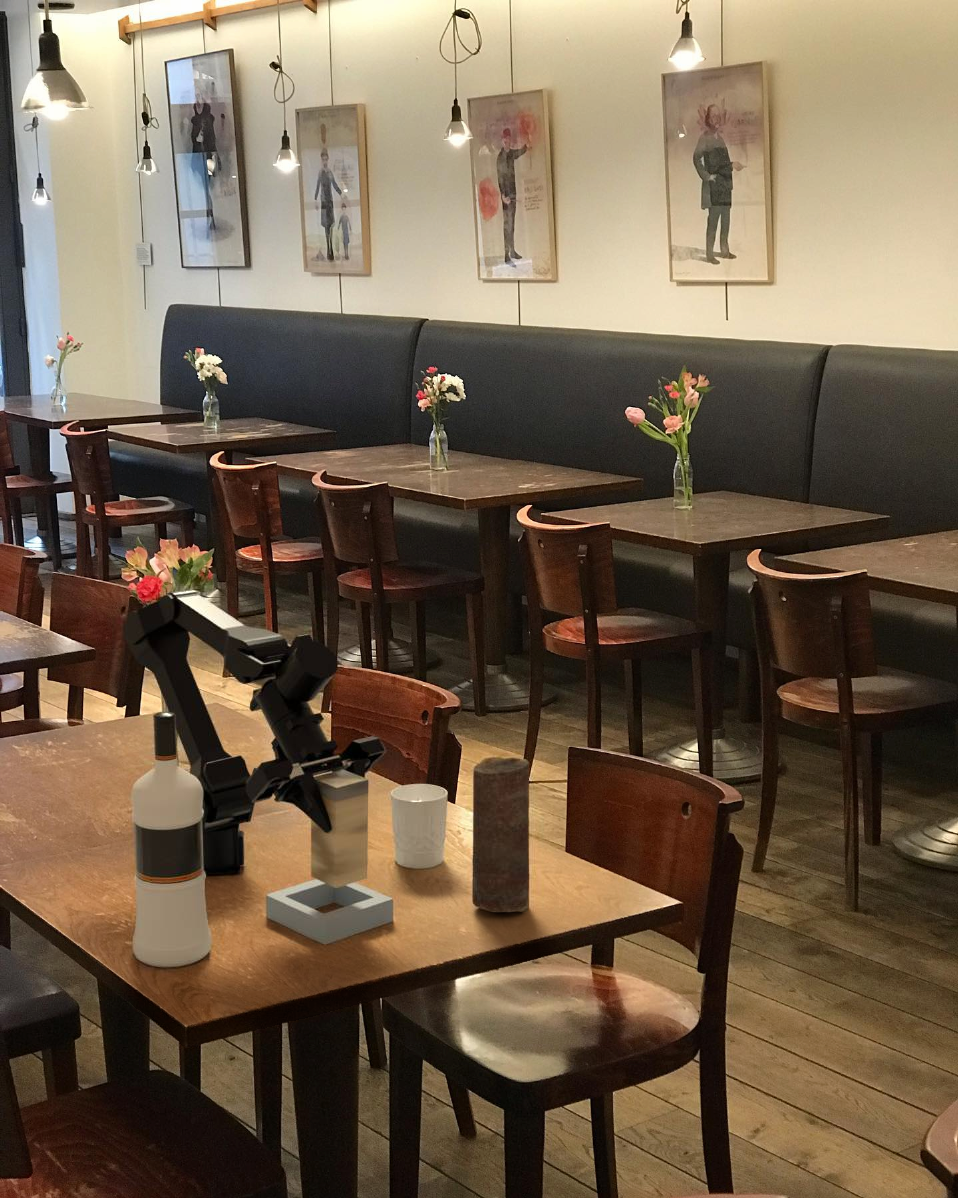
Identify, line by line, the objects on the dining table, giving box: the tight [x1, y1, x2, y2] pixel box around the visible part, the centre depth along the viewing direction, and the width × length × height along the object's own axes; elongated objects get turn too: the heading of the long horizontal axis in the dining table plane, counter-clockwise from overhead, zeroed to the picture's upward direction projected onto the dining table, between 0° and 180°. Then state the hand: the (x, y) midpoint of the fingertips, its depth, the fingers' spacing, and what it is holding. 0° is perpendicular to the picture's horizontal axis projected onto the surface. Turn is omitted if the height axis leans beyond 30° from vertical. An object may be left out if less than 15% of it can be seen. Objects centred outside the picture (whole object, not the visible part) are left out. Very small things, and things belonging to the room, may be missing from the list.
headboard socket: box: [265, 878, 394, 946], centre depth 203 cm, size 12×11×3 cm
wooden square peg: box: [310, 770, 369, 888], centre depth 199 cm, size 5×5×13 cm
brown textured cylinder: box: [471, 756, 530, 913], centre depth 205 cm, size 8×7×20 cm
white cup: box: [390, 783, 448, 870], centre depth 223 cm, size 8×8×10 cm
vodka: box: [130, 711, 212, 969], centre depth 189 cm, size 9×9×30 cm
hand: (346, 826), depth 198 cm, fingers closed on wooden square peg, 5 cm apart
